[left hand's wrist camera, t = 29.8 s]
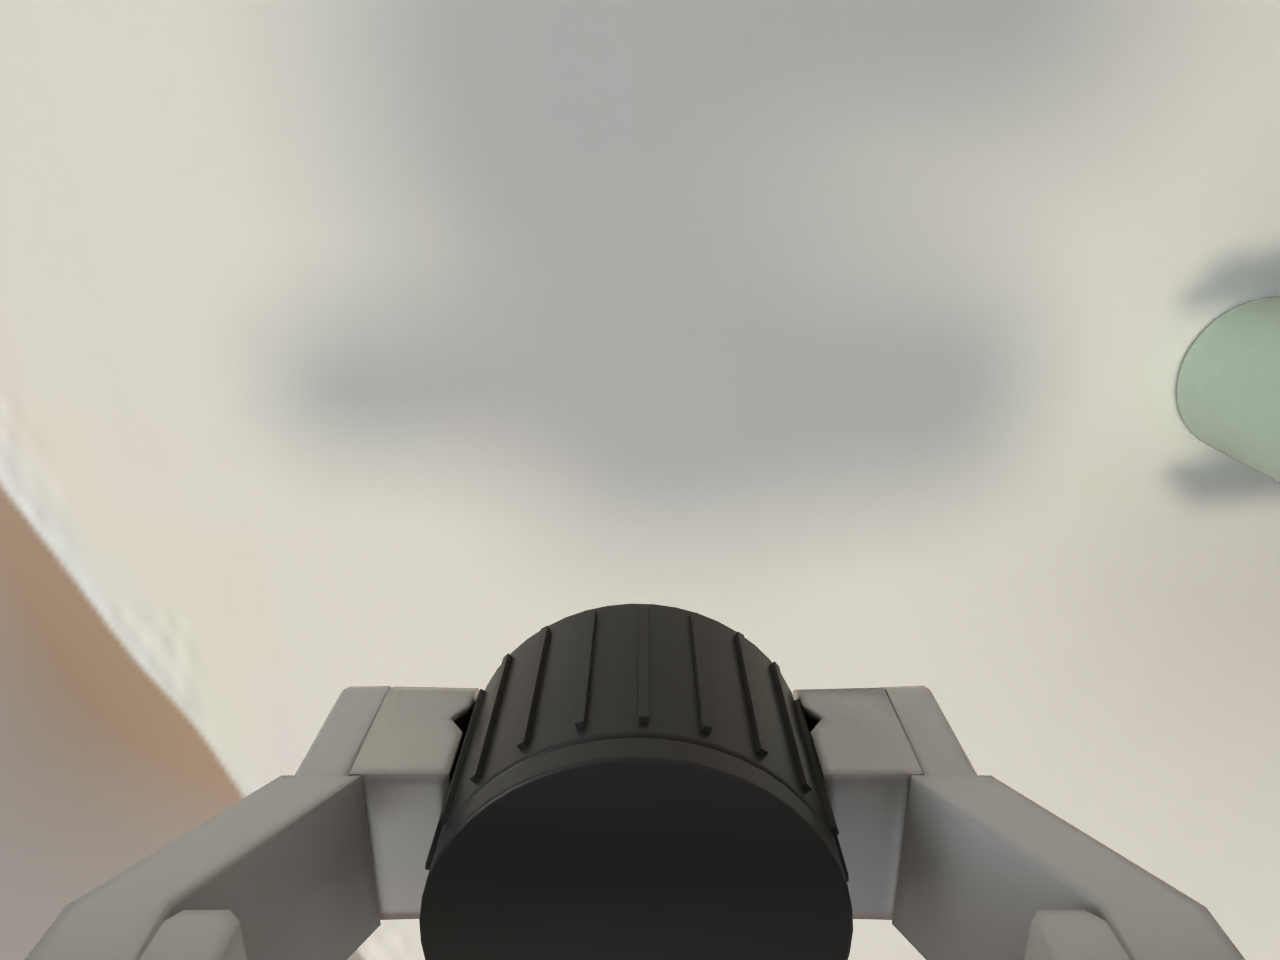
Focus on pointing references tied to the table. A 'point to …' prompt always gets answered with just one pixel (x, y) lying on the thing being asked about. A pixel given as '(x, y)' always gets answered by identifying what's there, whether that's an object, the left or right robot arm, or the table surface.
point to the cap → (636, 805)
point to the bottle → (1237, 386)
